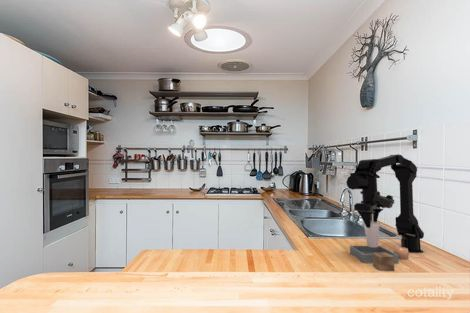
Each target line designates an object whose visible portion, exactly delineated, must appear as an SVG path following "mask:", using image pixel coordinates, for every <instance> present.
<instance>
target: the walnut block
mask: <svg viewBox="0 0 470 313" xmlns="http://www.w3.org/2000/svg"><path fill="white" fill-rule="evenodd" d="M372 256H373V263H372V267H373V268H375V269H376V270H378V271H380V272H394V271H395V264H394V257H393V256H391V255H389V254H387V253H372Z"/></svg>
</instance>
